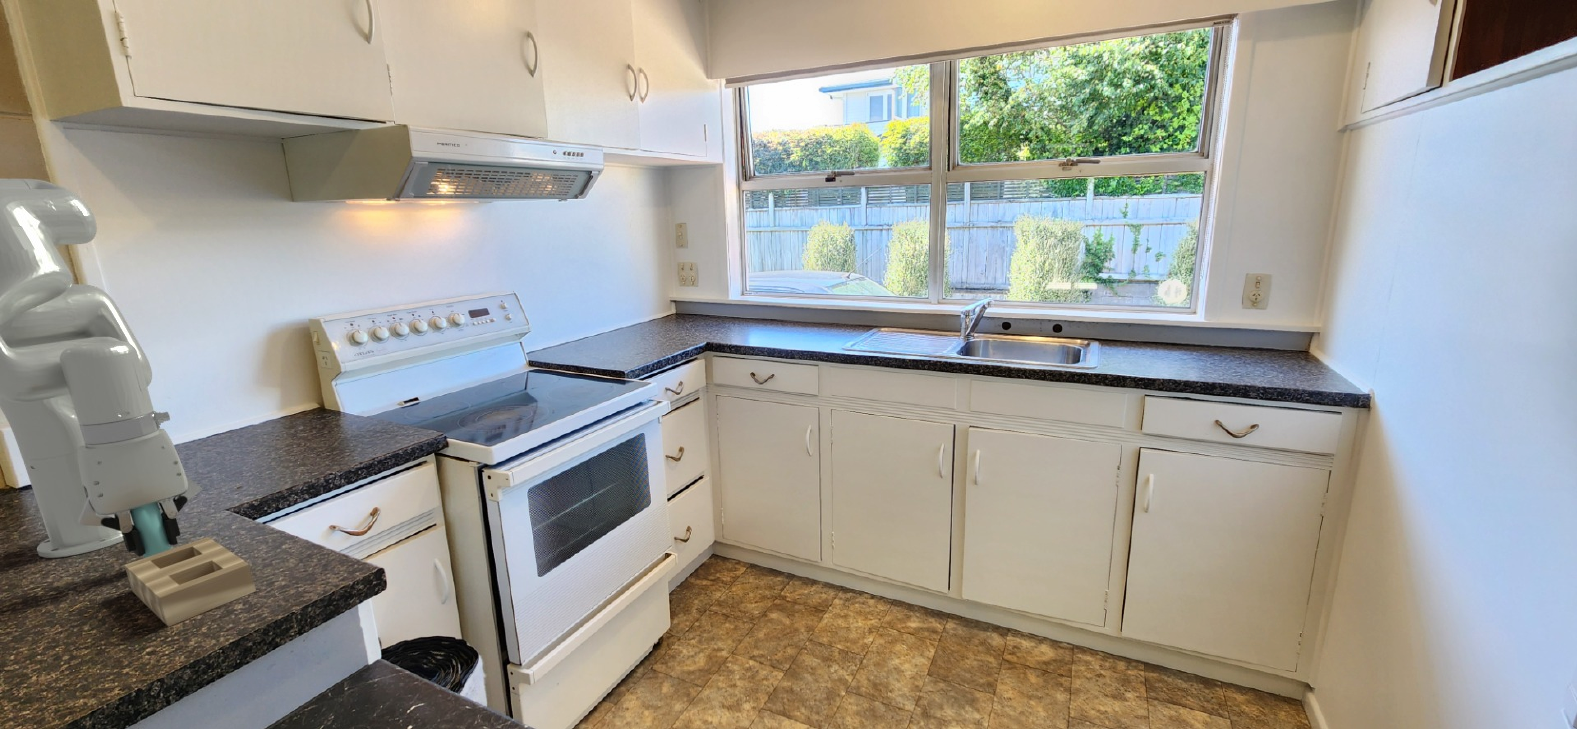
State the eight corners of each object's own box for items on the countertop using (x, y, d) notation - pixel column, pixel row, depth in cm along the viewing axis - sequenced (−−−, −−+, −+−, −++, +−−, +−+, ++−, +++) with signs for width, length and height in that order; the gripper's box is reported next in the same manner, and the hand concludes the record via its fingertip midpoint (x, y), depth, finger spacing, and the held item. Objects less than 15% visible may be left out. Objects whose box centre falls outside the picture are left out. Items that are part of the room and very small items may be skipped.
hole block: (132, 591, 90) (124, 565, 89) (215, 561, 97) (208, 536, 96) (168, 626, 81) (159, 597, 80) (256, 591, 88) (249, 564, 88)
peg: (144, 565, 97) (125, 503, 95) (170, 556, 100) (152, 495, 97) (150, 571, 96) (130, 507, 93) (176, 561, 98) (158, 499, 96)
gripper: (187, 410, 102) (216, 520, 106) (30, 443, 88) (71, 567, 93) (203, 416, 97) (233, 530, 102) (41, 452, 84) (83, 581, 88)
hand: (155, 547), depth 97 cm, fingers closed on peg, 3 cm apart
